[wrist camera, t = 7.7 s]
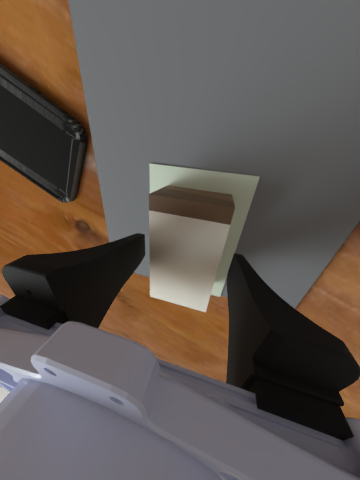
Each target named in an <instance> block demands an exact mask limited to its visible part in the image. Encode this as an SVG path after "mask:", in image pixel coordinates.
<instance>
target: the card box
mask: <svg viewBox="0 0 360 480" xmlns="http://www.w3.org/2000/svg"><path fill="white" fill-rule="evenodd" d="M234 210H235V205H234V201H233V197H232V195H231V194H224V193H217V192H210V191H204V190H197V189H190V188H183V187H176V186H169V185H167V186H165V187H163V188H161V189H159V190H157V191H154V192H152V193H150V194H149V254H150V297H154V298H157V299H161V300H164V301H168V302H171V303H175V304H178V305H182V306H185V307H189V308H192V309H196V310H199V311H203V312H206V309H207V306H208V302H209V299H210V295H211V292H212V288H213V285H214V281H215V277H216V274H217V270H218V267H219V263H220V260H221V256H222V253H223V249H224V246H225V242H226V239H227V235H228V232H229V228H230V224H231V221H232V217H233V214H234Z"/></svg>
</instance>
